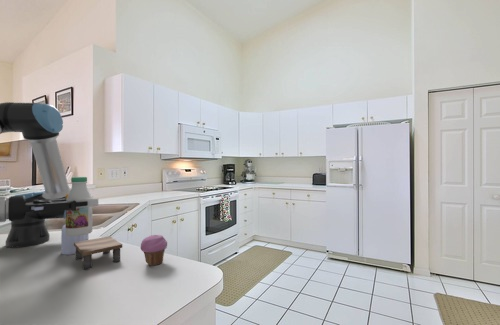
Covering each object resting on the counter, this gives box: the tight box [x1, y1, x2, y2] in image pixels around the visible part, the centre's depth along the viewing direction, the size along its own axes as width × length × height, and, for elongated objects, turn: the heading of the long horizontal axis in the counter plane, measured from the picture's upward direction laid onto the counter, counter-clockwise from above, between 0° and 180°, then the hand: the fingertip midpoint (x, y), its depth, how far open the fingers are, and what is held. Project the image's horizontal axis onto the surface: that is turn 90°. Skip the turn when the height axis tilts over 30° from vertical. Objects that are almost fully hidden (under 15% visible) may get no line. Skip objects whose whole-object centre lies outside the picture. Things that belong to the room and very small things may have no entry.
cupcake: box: [140, 234, 168, 267], centre depth 86 cm, size 9×9×10 cm
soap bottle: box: [60, 194, 89, 256], centre depth 101 cm, size 9×9×25 cm
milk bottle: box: [65, 176, 93, 236], centre depth 86 cm, size 8×8×20 cm
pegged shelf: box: [74, 235, 123, 271], centre depth 91 cm, size 16×12×6 cm
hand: (95, 201), depth 90 cm, fingers closed on milk bottle, 8 cm apart
